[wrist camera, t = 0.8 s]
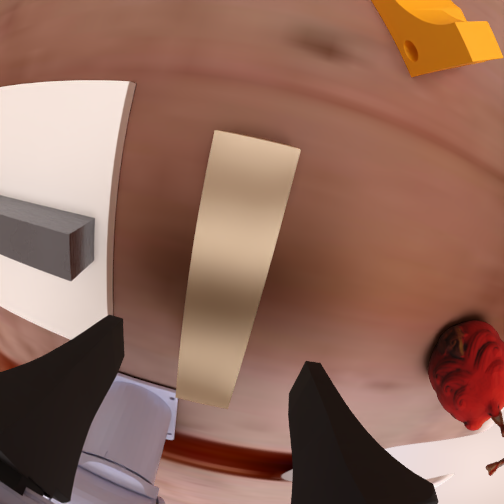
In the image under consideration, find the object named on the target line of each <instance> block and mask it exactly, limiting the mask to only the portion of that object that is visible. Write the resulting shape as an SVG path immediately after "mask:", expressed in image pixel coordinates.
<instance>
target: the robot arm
mask: <svg viewBox="0 0 504 504" xmlns="http://www.w3.org/2000/svg"><path fill="white" fill-rule="evenodd" d="M123 358H124V337H123V319H122V318H119V317H115V316H112V315H108V316H106V317H105V318H103V319H101V320H100V321H99V322H97V323H96V324H94V325H93V326H91V327H90V328H88V329H87V330H85V331H84V332H82V333H81V334H79V335H78V336H76V337H75V338H73V339H71V340H70V341H68V342H67V343H65V344H63V345H62V346H60V347H58V348H56V349H55V350H53V351H51V352H49V353H48V354H46V355H44V356H42V357H40V358H37V359H35V360H33V361H31V362H28V363H26V364H23V365H20V366H18V367H15V368H12V369H9V370H6V371H3V372H0V504H165V502H164V500H163V499H162V498H161V497H158V496H157V495H158V491H159V488H158V487H156V486H154V482H155V478H156V474H157V470H158V466H159V462H160V458H161V455H162V451H163V447H164V443H165V440H166V439H168V440H173V439H174V436H175V425H176V415H177V406H178V398H175V397H176V390H174V389H170V388H166V387H163V386H159V385H155V384H152V383H149V382H145V381H142V380H139V379H136V378H133V377H130V376H127V375H124V374H121V373H118V371H119V368H120V366H121V363H122V360H123ZM288 417H289V428H290V438H291V449H292V459H293V482H292V498H291V504H437V503H438V499H437V495H436V492H435V489H434V486H433V484H432V483H430V482H429V481H427V480H425V479H423V478H422V477H420V476H418V475H417V474H415V473H413V472H412V471H411V470H409V469H408V468H406V467H405V466H404V465H402V464H401V463H400V462H399V461H397V460H396V459H395V458H394V457H392V456H391V455H390V454H389V453H388V452H387V451H386V450H385V449H384V448H382V447H381V446H380V445H379V444H378V443H377V442H376V441H375V439H374V438H373V437H372V436H371V435H370V434H369V433H368V432H367V431H366V430H365V428H364V427H363V426H362V425H361V424H360V422H359V421H358V420H357V418H356V417H355V416H354V414H353V413H352V412H351V410H350V409H349V407H348V406H347V405H346V403H345V402H344V400H343V399H342V397H341V396H340V394H339V393H338V391H337V389H336V388H335V386H334V385H333V383H332V381H331V380H330V378H329V376H328V375H327V373H326V371H325V370H324V368H323V367H322V365H321V363H316V362H309V361H306V362H305V364H304V366H303V368H302V370H301V372H300V374H299V375H298V377H297V379H296V381H295V383H294V385H293V387H292V389H291V391H290V393H289V411H288Z"/></svg>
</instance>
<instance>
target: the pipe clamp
mask: <svg viewBox="0 0 504 504" xmlns="http://www.w3.org/2000/svg"><path fill="white" fill-rule="evenodd" d="M371 1H372V3H373V4H374V6H375V7H376V9H377V11H378V12H379V14H380V16H381V17H382V19H383V21H384V23H385V25H386V26H387V28H388V30H389V32H390V34H391V36H392V37H393V39H394V41H395V43H396V45H397V47H398V49H399V51H400V53H401V55H402V58H403V60H404V62H405V64H406V66H407V68H408V71H409V73H410V75H411V77H415V76H419V75H423V74H428V73H432V72H436V71H441V70H446V69H451V68H456V67H461V66H465V65H470V64H475V63H481V62H485V61H488V60H494V59H500V58H503V56H502V53H501V51H500V48H499V46H498V43H497V41H496V39H495V37H494V34H493V32H492V30H491V28H490V26H489V24H488V22H486V21H480V22H467V21H466V19H465V17H464V15H463V13H462V11H461V9H460V8H459V7H457V6H456V5H455V4H454V3H453V2H452V1H451V0H371Z"/></svg>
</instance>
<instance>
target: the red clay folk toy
mask: <svg viewBox="0 0 504 504" xmlns="http://www.w3.org/2000/svg"><path fill="white" fill-rule="evenodd" d="M428 367H429V368H428V375H429V379H430V382H431V384H432V387H433V389H434V390H435V391H436V393H437V397H438V399H439V401H440V403H441V404H442V406H443V408H444V409H445V410H446V411H448V412H449V413H450V414H451V415H452V416H453V417H454V418H455V419H457V420H459V421H461V422H463V423H464V424H465V426H466V428H467V429H469V430H473V431H474V430H478V429H479V428H480V427H481V426H482V424H483V423H484V422H485V421H487V420H488V419H490V418H492V420H493V421H494V422H495V423H496V424H497V425H498V426H499V427H500V428H501V433H502V437H504V423H503V418H502V413H501V411H500V410H501V409H502V408H503V407H504V342H503V341H502V340H501V339H500V337H499V334H498V333H497V331H496V330H495V329H494V328H493V327H492V326H491V325H490V324H488V323H486V322H482V321H476V320H474V321H468V322H463V323H461V324H459V325H457V326H453V327H451V328H449V329H448V330H447V331H446V332H445V333H444V334H443V335H441V337H440V339H439V342H438V344H437V345H436V346H435V348H434V351H433V353H432V356H431V358H430V363H429V366H428ZM502 465H504V458H503V459H502V460H500V461H499V462H495V463H492V464H489V465H487V466H486V469H487V470H488V472H489V475H490V476H491V475H492V474H493V473H494V472H495V471H496V469H497V468H499V467H501V466H502Z"/></svg>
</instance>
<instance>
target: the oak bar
mask: <svg viewBox="0 0 504 504" xmlns="http://www.w3.org/2000/svg"><path fill="white" fill-rule="evenodd" d="M300 151H301V149H299V148H296V147H293V146H291V145H287V144H283V143H279V142H275V141H271V140H267V139H262V138H258V137H253V136H249V135H244V134H239V133H234V132H229V131H220V130H215V132H214V136H213V141H212V146H211V151H210V155H209V160H208V165H207V170H206V175H205V181H204V186H203V191H202V197H201V202H200V208H199V214H198V219H197V225H196V231H195V237H194V244H193V250H192V257H191V263H190V270H189V277H188V284H187V292H186V300H185V307H184V316H183V324H182V333H181V342H180V352H179V362H178V373H177V385H176V397H175V398H179V399H183V400H188V401H192V402H196V403H201V404H205V405H210V406H215V407H220V408H225V409H228V406H229V403H230V400H231V397H232V393H233V390H234V387H235V384H236V380H237V377H238V374H239V370H240V367H241V364H242V360H243V357H244V354H245V350H246V347H247V343H248V340H249V337H250V333H251V330H252V326H253V323H254V319H255V316H256V313H257V309H258V306H259V302H260V299H261V295H262V292H263V288H264V284H265V281H266V277H267V274H268V270H269V267H270V263H271V259H272V256H273V252H274V249H275V245H276V241H277V238H278V234H279V230H280V227H281V223H282V219H283V216H284V212H285V208H286V204H287V201H288V197H289V193H290V189H291V185H292V182H293V178H294V174H295V170H296V166H297V162H298V158H299V155H300Z"/></svg>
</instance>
